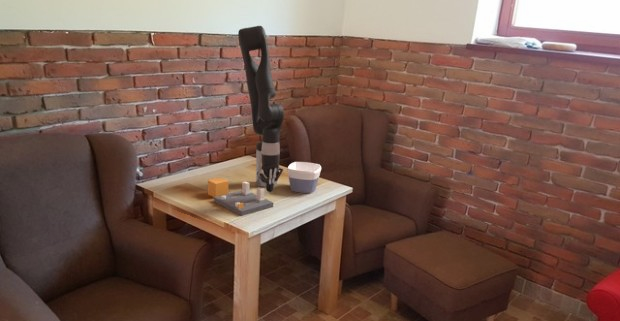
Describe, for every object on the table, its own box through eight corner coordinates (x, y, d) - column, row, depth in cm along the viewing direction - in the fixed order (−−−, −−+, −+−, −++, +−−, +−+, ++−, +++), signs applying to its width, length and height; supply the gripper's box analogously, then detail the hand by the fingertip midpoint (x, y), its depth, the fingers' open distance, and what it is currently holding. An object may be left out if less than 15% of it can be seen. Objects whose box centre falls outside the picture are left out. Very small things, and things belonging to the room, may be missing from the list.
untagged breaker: (246, 192, 202) (246, 180, 200) (251, 194, 199) (251, 182, 198) (240, 193, 200) (240, 182, 198) (245, 195, 197) (245, 184, 196)
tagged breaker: (260, 198, 195) (260, 186, 194) (265, 200, 193) (265, 189, 191) (254, 200, 193) (254, 188, 192) (259, 202, 191) (260, 190, 189)
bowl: (322, 186, 221) (323, 163, 218) (315, 196, 207) (317, 172, 204) (292, 182, 225) (292, 160, 222) (283, 192, 210) (283, 169, 207)
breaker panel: (244, 193, 206) (244, 185, 205) (273, 206, 192) (273, 197, 191) (213, 201, 195) (213, 192, 194) (241, 215, 181) (241, 206, 180)
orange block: (220, 191, 207) (220, 177, 206) (228, 195, 203) (228, 181, 201) (207, 194, 203) (207, 180, 201) (215, 198, 199) (215, 183, 197)
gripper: (276, 148, 198) (275, 186, 202) (252, 152, 189) (251, 192, 193) (288, 151, 193) (287, 190, 197) (263, 156, 184) (263, 197, 188)
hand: (269, 191), depth 195 cm, fingers closed
